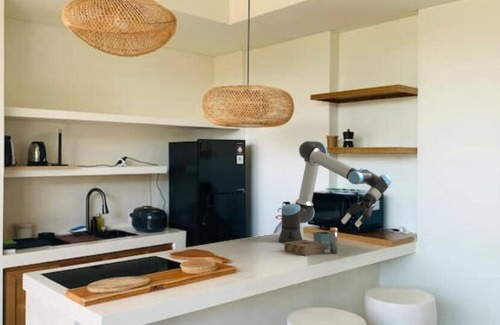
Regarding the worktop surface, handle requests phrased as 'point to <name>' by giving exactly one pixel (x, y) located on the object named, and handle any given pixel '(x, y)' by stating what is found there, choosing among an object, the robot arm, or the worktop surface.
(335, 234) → the metal pin
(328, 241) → the flower pot
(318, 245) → the block
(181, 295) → the worktop surface
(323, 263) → the worktop surface
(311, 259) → the worktop surface
